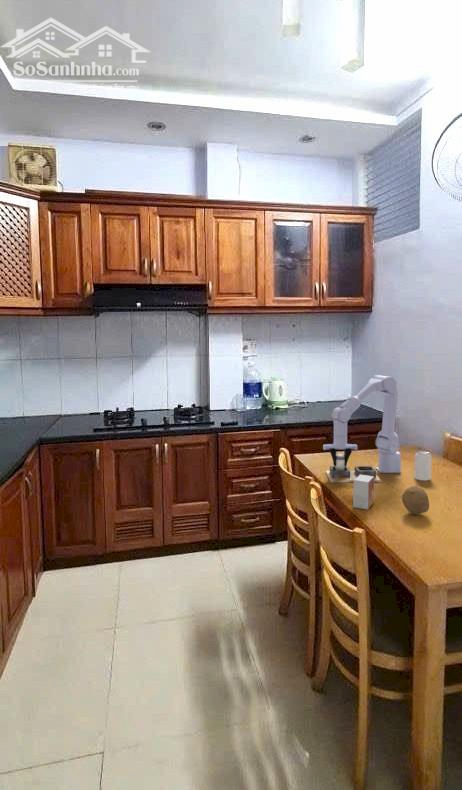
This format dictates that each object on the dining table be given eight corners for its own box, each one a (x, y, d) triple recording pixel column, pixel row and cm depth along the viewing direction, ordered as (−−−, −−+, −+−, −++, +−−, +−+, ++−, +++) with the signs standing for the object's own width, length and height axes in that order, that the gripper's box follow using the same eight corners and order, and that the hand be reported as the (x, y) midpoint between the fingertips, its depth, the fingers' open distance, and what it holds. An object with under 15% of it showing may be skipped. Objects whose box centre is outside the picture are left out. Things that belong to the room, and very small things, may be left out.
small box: (367, 510, 170) (368, 482, 168) (352, 507, 173) (353, 479, 171) (374, 503, 177) (374, 476, 175) (359, 500, 180) (359, 473, 178)
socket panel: (372, 472, 214) (372, 463, 213) (380, 482, 200) (381, 473, 199) (325, 472, 215) (326, 464, 214) (330, 482, 201) (330, 473, 200)
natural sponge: (400, 507, 172) (401, 481, 170) (427, 510, 169) (428, 483, 167) (401, 517, 163) (402, 489, 162) (429, 520, 160) (430, 492, 159)
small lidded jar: (343, 469, 209) (343, 454, 208) (345, 472, 205) (345, 456, 204) (334, 469, 209) (334, 454, 208) (336, 472, 205) (336, 456, 204)
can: (431, 481, 200) (433, 454, 198) (415, 480, 201) (416, 453, 199) (428, 476, 206) (429, 450, 204) (413, 476, 207) (414, 449, 206)
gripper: (324, 437, 201) (324, 468, 203) (359, 437, 201) (358, 468, 202) (322, 433, 208) (322, 463, 210) (355, 433, 207) (355, 463, 209)
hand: (339, 465), depth 207 cm, fingers closed on small lidded jar, 4 cm apart
